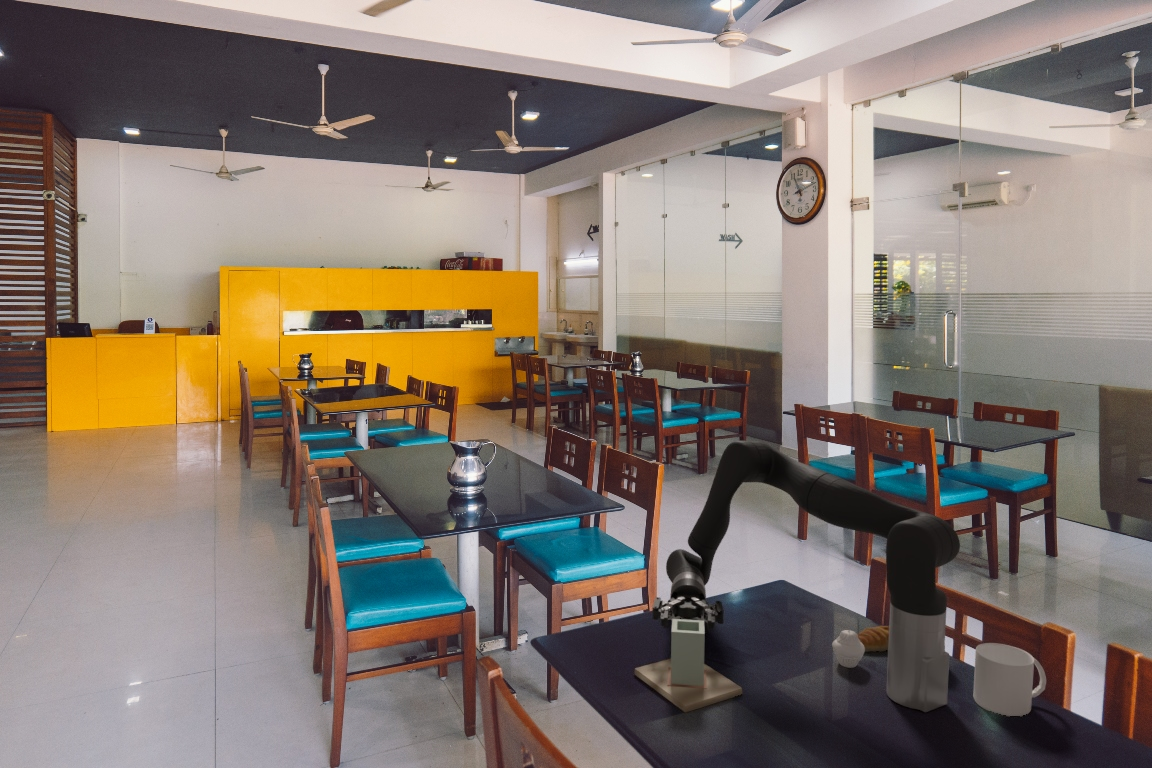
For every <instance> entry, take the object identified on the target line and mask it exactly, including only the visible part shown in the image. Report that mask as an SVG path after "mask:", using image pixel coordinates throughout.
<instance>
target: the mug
mask: <svg viewBox="0 0 1152 768" xmlns="http://www.w3.org/2000/svg"><path fill="white" fill-rule="evenodd" d="M974 655H975V657H974V674H973V675H974V676H973V679H974V680H973V695H972V696H973V700H974V701H975V703H976V704H977V705H978V706H980V708H982V709H984V710H986V711H988V712H990V711H992V712H991V713H993V712H994V713H993V714H996V713H998V714H997V715H999V714H1001V715H1000V716H1003V715H1006V716H1005V717H1010V716H1020V717H1023V715H1025V716H1026V714H1027V715H1028V714H1029V713H1030V712H1031V710H1032V700H1033V698H1036V697H1038V696H1040V695H1041V694H1042V693H1043V692H1044V691H1045V690H1046V686H1047V677H1046V672H1045V670H1044V667H1043V666H1042V665H1041V663H1040V662H1039V661H1038V660H1037V659H1036V658H1035V657H1033V655H1032V654H1031V653H1030V652H1027V651H1026V650H1024V649H1022V648H1019V647H1015V646H1013V645H1008V644H1004V643H996V642H985V643H980V644H978V645H977V646H976V647H975V654H974ZM1035 667H1036V669H1037V671H1038V674H1039V683H1038V685H1037V686H1036V687H1035V688H1034V689H1033V683H1034V671H1035V669H1034V668H1035Z"/></svg>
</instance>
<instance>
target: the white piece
mask: <svg viewBox="0 0 1152 768" xmlns="http://www.w3.org/2000/svg"><path fill="white" fill-rule="evenodd" d="M857 634H858V633H857V632H855V631H854V630H851V629H844V630H841V632H839V636H838V637H836V639H834V640H833V641H832V643H831V646H832V650H833V653H834V655H835V658H836V659H837V661H838V664H840V666H842V667H845V668H849V669H850V668H851V669H854V668H856V667H857V666H858V664H859V663H860V662H861V659H862V658H863V656H864V654H865V652H866V651H865V647H864V645H863V644H862V643H861V642H860V640H859V639H858V635H857Z"/></svg>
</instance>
